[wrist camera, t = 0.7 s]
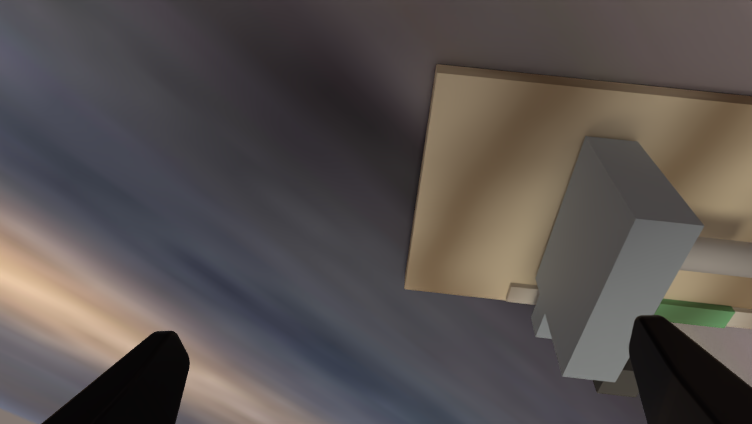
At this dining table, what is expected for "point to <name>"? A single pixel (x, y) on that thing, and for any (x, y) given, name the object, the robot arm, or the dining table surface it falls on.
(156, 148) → the dining table surface
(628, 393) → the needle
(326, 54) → the dining table surface
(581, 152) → the grey rectangular block
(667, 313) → the gauge board
